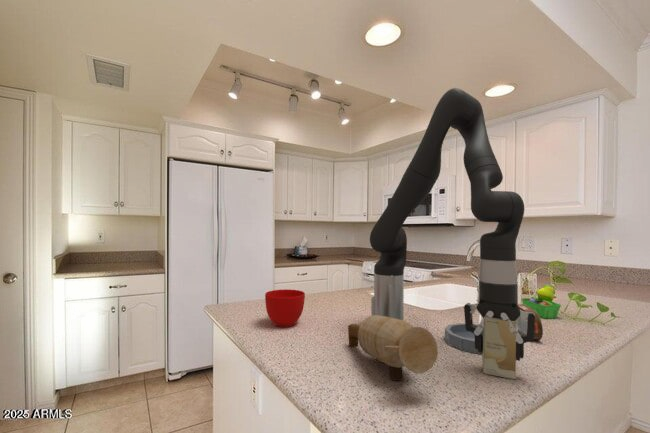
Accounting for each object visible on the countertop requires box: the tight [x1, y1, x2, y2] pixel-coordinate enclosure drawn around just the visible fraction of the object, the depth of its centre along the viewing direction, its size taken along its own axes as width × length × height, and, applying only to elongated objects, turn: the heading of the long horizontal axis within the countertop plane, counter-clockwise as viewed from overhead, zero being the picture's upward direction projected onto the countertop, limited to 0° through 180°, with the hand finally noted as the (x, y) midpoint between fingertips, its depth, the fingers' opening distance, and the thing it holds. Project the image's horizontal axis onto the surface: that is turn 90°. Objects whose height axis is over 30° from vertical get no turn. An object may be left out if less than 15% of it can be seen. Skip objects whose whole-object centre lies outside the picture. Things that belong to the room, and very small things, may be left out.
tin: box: [515, 303, 544, 341], centre depth 94 cm, size 15×3×8 cm, turn 168°
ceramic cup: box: [264, 288, 306, 328], centre depth 104 cm, size 13×17×10 cm
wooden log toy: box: [347, 315, 439, 381], centre depth 71 cm, size 10×12×30 cm
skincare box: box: [481, 317, 517, 380], centre depth 69 cm, size 6×4×12 cm
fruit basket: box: [521, 284, 562, 319], centre depth 117 cm, size 11×9×11 cm
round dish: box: [444, 322, 483, 355], centre depth 86 cm, size 16×16×3 cm
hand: (498, 355), depth 69 cm, fingers closed on skincare box, 6 cm apart
